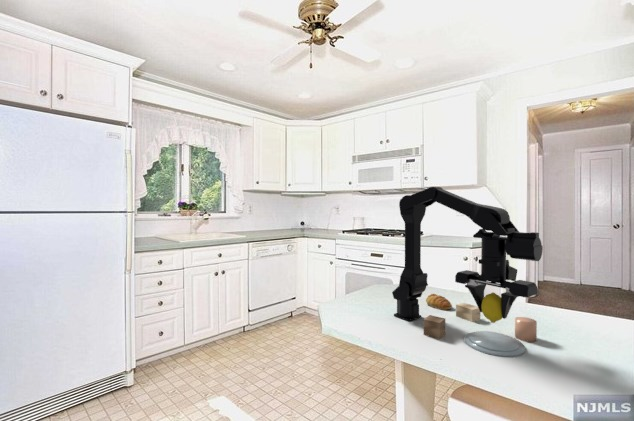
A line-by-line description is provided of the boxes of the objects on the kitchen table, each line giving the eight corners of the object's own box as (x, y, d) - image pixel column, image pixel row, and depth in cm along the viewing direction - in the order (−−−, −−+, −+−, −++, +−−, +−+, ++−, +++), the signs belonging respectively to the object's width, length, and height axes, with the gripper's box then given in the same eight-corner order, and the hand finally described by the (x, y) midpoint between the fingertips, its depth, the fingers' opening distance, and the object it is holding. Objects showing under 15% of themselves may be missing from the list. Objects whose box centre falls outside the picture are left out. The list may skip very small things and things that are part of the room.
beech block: (455, 316, 107) (455, 304, 107) (464, 314, 109) (464, 302, 109) (472, 322, 102) (472, 309, 102) (480, 320, 104) (480, 307, 104)
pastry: (457, 309, 114) (456, 298, 114) (441, 312, 112) (441, 301, 112) (438, 302, 123) (438, 292, 123) (423, 304, 121) (423, 294, 121)
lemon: (508, 327, 83) (508, 296, 83) (484, 325, 84) (485, 295, 84) (500, 319, 88) (501, 290, 88) (478, 318, 89) (478, 289, 89)
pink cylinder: (511, 337, 90) (511, 319, 90) (520, 333, 93) (520, 315, 93) (531, 343, 86) (531, 324, 86) (539, 339, 89) (540, 320, 89)
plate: (453, 341, 88) (453, 336, 88) (482, 329, 96) (482, 325, 96) (507, 362, 76) (508, 357, 76) (535, 346, 84) (535, 342, 84)
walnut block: (423, 335, 93) (423, 319, 93) (429, 330, 96) (429, 315, 96) (439, 339, 90) (439, 323, 90) (445, 334, 93) (445, 318, 93)
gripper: (547, 257, 82) (546, 319, 83) (476, 249, 98) (475, 300, 98) (526, 262, 76) (526, 328, 76) (454, 252, 92) (453, 307, 92)
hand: (493, 315), depth 86 cm, fingers closed on lemon, 5 cm apart
